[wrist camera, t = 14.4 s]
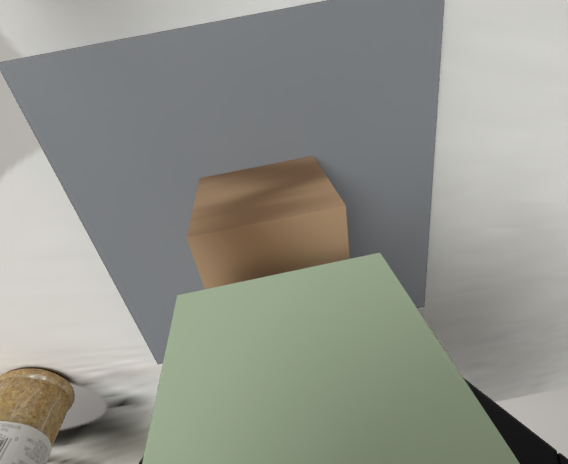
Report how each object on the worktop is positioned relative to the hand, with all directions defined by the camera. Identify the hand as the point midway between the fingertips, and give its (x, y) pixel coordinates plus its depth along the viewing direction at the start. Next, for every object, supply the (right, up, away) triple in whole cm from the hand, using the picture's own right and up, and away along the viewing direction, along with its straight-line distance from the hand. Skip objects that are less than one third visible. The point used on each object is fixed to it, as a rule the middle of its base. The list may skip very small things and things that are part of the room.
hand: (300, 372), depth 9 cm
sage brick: (0, 0, +1) cm, 1 cm away
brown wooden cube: (-1, +4, +7) cm, 9 cm away
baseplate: (-1, +5, +8) cm, 10 cm away
